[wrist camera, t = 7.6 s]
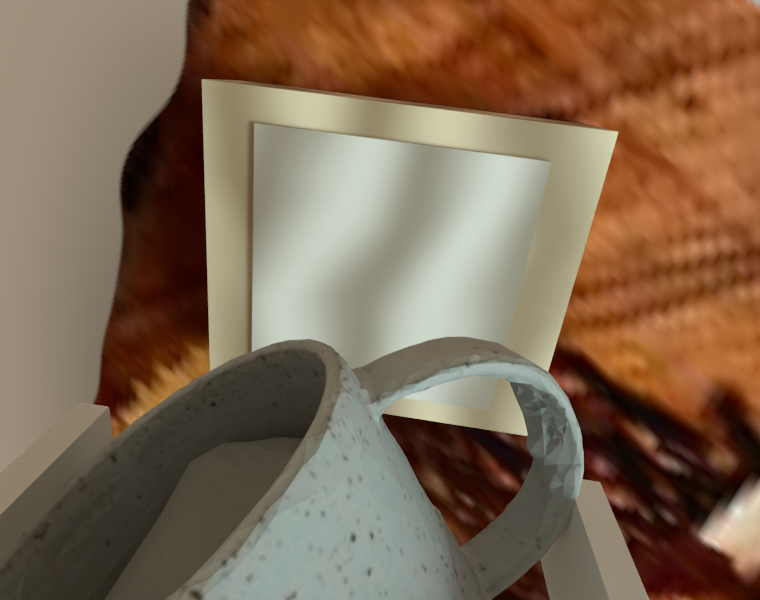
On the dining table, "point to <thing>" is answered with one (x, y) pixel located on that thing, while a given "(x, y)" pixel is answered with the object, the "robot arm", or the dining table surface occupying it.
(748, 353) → the dining table surface
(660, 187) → the dining table surface
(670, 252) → the dining table surface
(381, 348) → the cream flat rectangular piece
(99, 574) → the ceramic mug
